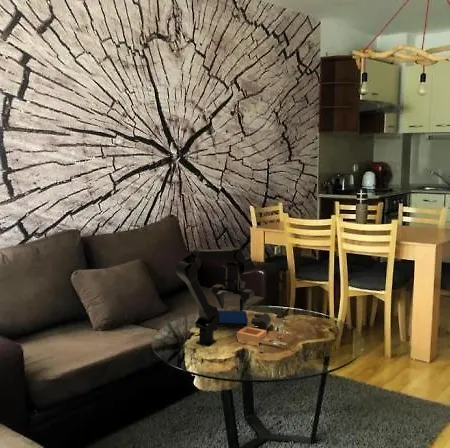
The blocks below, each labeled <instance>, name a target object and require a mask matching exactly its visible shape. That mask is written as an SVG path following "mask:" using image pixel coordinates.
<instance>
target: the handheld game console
mask: <svg viewBox="0 0 450 448" xmlns="http://www.w3.org/2000/svg"><path fill="white" fill-rule="evenodd" d="M218 312H219V313H220V315H219V316H220V320H219V324H218V327H237V326H246V327H248V322H249V318H248V317H247V312H246V311H244V310H243V311H242V312H240V310H218Z"/></svg>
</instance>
